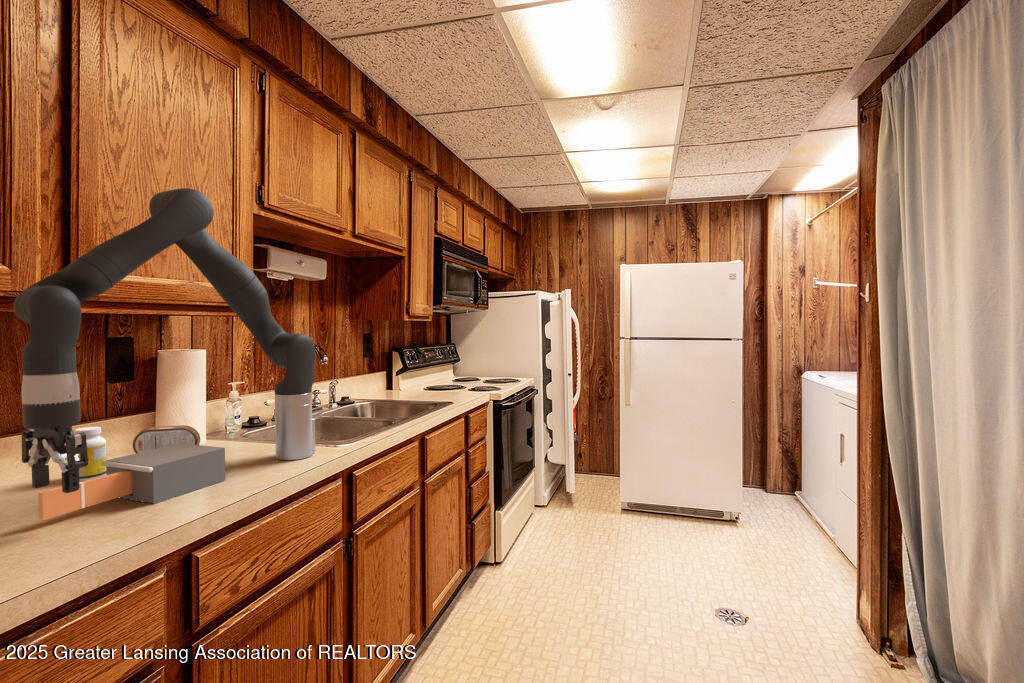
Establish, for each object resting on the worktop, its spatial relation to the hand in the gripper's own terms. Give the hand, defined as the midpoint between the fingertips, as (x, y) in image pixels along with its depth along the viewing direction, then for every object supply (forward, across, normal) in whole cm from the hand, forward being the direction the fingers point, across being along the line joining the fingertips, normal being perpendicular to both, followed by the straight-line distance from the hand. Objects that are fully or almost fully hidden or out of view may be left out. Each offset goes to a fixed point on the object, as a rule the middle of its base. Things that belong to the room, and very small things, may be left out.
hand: (55, 489), depth 88 cm
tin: (+7, +26, -38) cm, 47 cm away
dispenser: (+6, 0, -20) cm, 21 cm away
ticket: (+5, 0, -7) cm, 8 cm away
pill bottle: (+6, +25, -19) cm, 32 cm away
